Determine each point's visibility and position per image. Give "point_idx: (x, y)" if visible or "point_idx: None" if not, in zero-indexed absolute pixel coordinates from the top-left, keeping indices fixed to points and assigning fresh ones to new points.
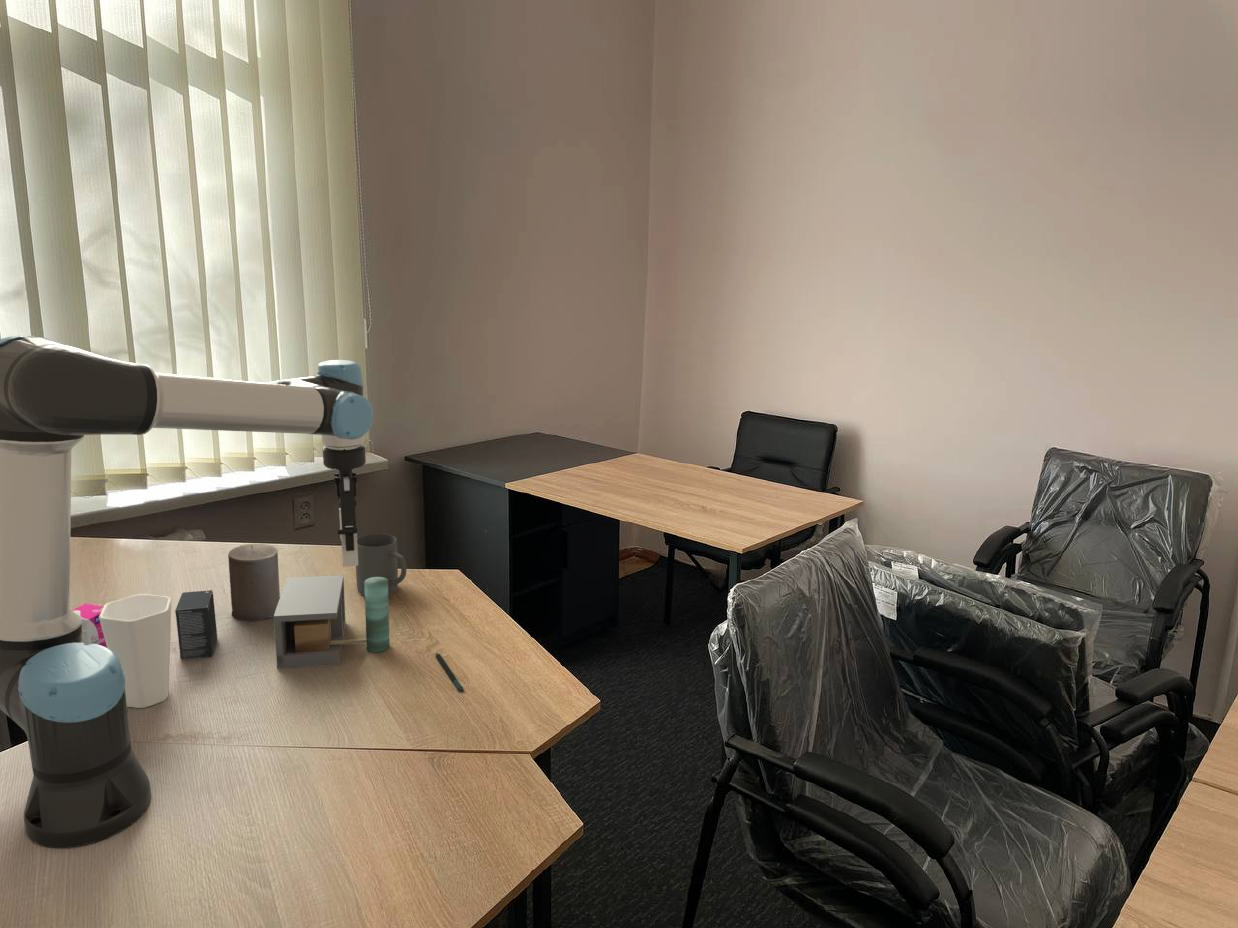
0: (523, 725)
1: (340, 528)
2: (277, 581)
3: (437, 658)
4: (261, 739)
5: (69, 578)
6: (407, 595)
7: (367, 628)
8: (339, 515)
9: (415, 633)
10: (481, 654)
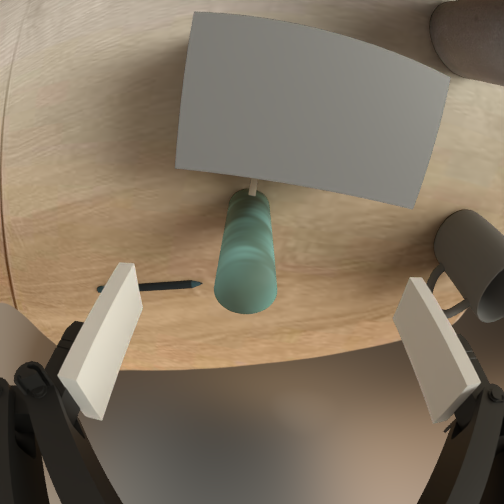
0: (47, 318)
1: (429, 313)
2: (489, 76)
3: (182, 282)
4: (23, 54)
5: None
6: (417, 274)
7: (237, 208)
8: (454, 361)
9: (281, 267)
10: (189, 327)
